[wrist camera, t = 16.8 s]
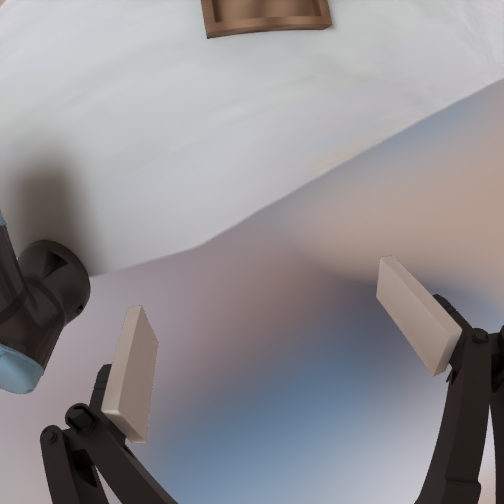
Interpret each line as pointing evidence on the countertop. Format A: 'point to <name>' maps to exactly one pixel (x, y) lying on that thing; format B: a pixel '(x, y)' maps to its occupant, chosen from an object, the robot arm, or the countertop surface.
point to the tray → (263, 16)
